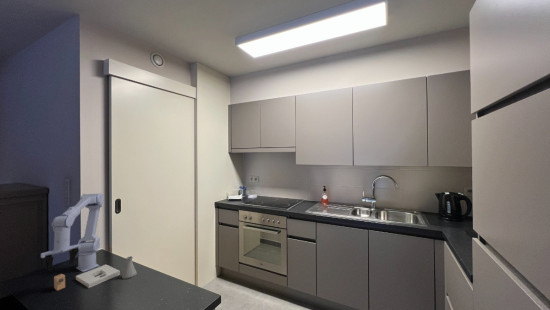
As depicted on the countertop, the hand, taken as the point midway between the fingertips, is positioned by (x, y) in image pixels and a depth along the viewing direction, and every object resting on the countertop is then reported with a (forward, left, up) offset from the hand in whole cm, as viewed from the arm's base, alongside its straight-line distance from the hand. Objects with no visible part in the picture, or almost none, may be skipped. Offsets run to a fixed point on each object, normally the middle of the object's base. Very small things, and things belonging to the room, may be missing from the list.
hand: (61, 267), depth 109 cm
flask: (+18, +23, -11) cm, 31 cm away
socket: (+4, +14, -11) cm, 18 cm away
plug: (-2, 0, -11) cm, 11 cm away
